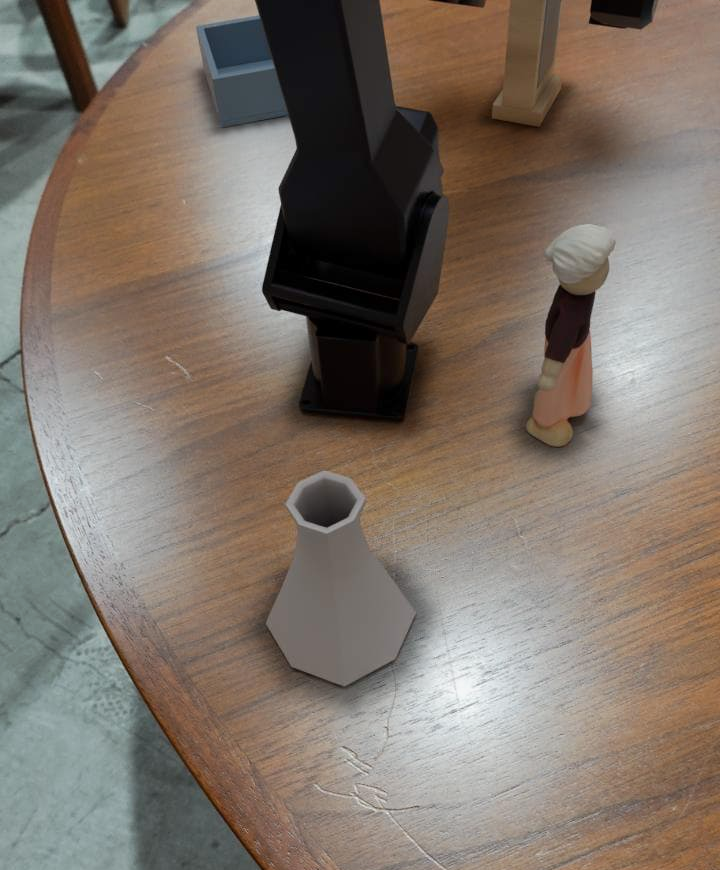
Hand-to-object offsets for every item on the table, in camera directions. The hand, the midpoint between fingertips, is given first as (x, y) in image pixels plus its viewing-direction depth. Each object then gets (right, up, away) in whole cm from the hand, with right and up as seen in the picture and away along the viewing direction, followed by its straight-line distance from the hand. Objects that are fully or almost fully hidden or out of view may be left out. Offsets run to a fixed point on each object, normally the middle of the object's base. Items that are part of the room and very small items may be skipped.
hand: (541, 8), depth 68 cm
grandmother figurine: (-2, -33, -15) cm, 36 cm away
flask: (-15, -45, -22) cm, 52 cm away
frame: (0, -5, +5) cm, 7 cm away
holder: (-23, -2, +8) cm, 24 cm away
